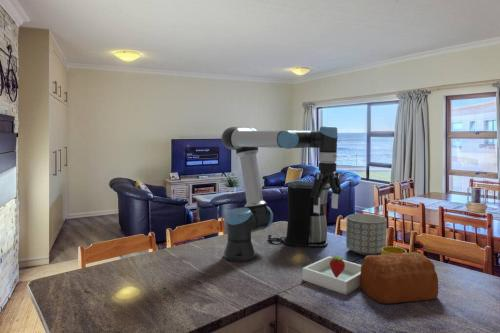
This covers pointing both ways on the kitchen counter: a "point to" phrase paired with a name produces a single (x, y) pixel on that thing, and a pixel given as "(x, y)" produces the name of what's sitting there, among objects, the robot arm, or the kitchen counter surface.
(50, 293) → the kitchen counter surface
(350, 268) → the serving bin
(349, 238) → the planter
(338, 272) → the strawberry
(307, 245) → the coffee maker
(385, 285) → the bread
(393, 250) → the plant pot
